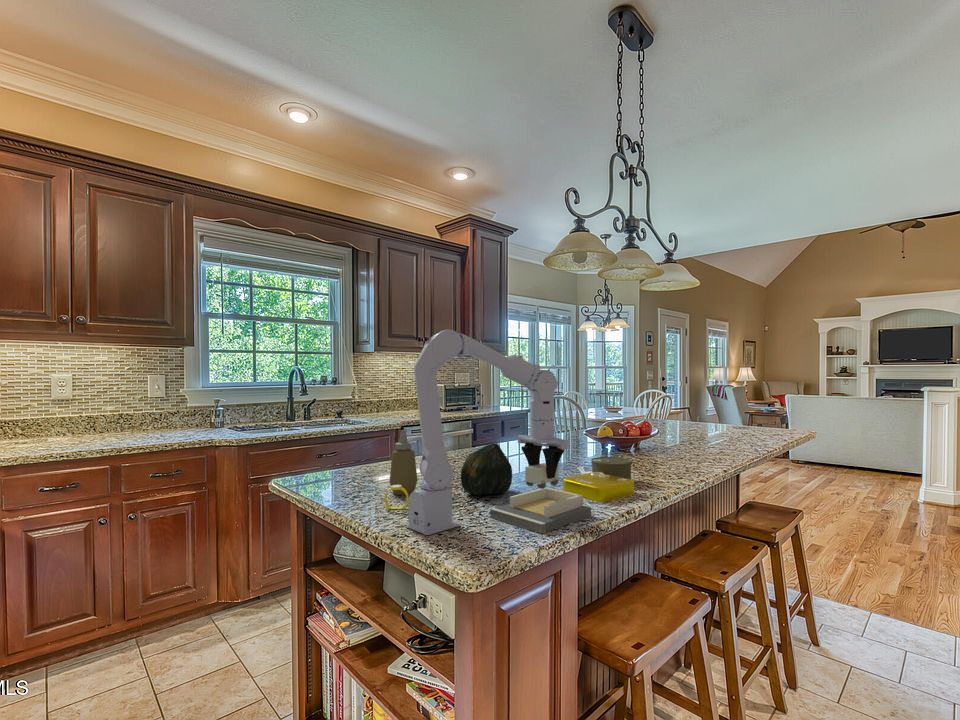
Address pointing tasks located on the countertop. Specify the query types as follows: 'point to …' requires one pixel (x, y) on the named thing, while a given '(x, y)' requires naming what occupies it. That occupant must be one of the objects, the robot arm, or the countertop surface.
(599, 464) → the can
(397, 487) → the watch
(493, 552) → the countertop surface
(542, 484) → the upright pale green block
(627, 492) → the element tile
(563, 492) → the dock
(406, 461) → the squeeze bottle
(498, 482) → the squash
